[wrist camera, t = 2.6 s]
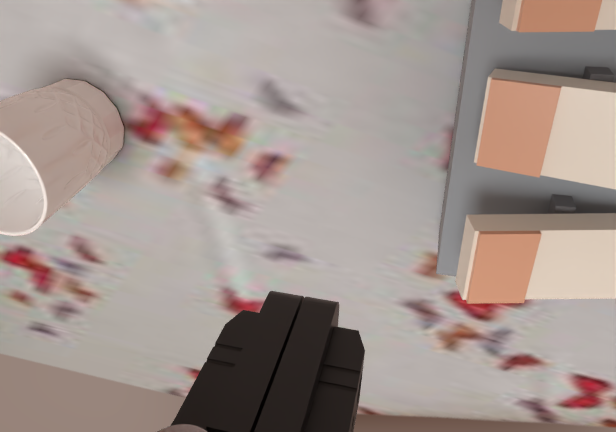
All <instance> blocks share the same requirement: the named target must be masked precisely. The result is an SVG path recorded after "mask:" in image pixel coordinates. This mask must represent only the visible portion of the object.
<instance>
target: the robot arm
mask: <svg viewBox="0 0 616 432" xmlns="http://www.w3.org/2000/svg"><path fill="white" fill-rule="evenodd" d="M338 316H339V302H334V301H328V300H322V299H317V298H311V297H305V298H304V297H303V296H298V295H293V294H287V293H281V292H275V291H270V292H269V294H268V296H267V298H266V300H265V302H264V304H263V306H262V308H261V311H260V313H257V312H251V311H246V310H243V311H241V312H240V313H239V314H238V315H236V316H235V317H234V318H233V319H231V320H230V321H229V322H228V323H227V324H225V326H224V328H223V330H222V332H221V334H220V335H219V337H218V339H217V341H216V343H215V347H213V349H212V350H211V352H210V354H209V356H208V358H207V362H205V363H204V365H203V367H202V369H201V371H200V373H199V375H198V377H197V378H196V380H195V382H194V384H193V386H192V388H191V390H190V391H189V393H188V395H187V397H186V399H185V401H184V403H183V405H182V406H181V408H180V410H179V412H178V414H177V416H176V418H175V419H174V421H173V423H172V424H171V426H169V427H166V428H164V429H161V430H160V431H157V432H353V430H354V425H355V419H356V414H357V409H358V404H359V397H360V389H361V380H362V371H363V362H364V353H365V350H364V347H363V343H362V340H361V337H360V334H359V331H357V330H351V329H346V328H340V327H338Z"/></svg>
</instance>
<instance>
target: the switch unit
mask: <svg viewBox="0 0 616 432" xmlns="http://www.w3.org/2000/svg"><path fill="white" fill-rule="evenodd" d="M502 2H503V0H472V1H471V8H470V15H469V22H468V29H467V36H466V44H465V51H464V58H463V65H462V72H461V79H460V86H459V94H458V101H457V108H456V115H455V122H454V129H453V136H452V144H451V151H450V158H449V165H448V172H447V179H446V186H445V194H444V201H443V208H442V215H441V222H440V229H439V241H438V257H437V272H436V274H442V275H450V276H456V275H457V269H458V263H459V257H460V251H461V245H462V239H463V233H464V227H465V221H466V215H478V214H581V213H616V190H615V189H610V188H605V187H600V186H595V185H589V184H584V183H579V182H574V181H568V180H563V179H558V178H553V177H547V176H542V175H540V178H539V177H534V176H528V175H523V174H518V173H513V172H508V171H502V170H497V169H492V168H487V167H482V166H476V165H477V163H474V158H475V152H476V146H477V140H478V134H479V128H480V122H481V116H482V110H483V104H484V98H485V92H486V86H487V80H488V76H489V75H490V74H491V73H492V71H493V70H494V69H504V70H512V71H521V72H529V73H538V74H546V75H555V76H563V77H572V78H580V79H589V80H597V81H605V82H614V83H616V30H595V31H594V32H517V31H511V30H509V29H508V28H506V27H505V26H503V25H502V24H500V23H499V19H500V13H501V8H502Z"/></svg>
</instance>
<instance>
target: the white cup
mask: <svg viewBox="0 0 616 432" xmlns="http://www.w3.org/2000/svg"><path fill="white" fill-rule="evenodd" d="M123 139H124V126H123V123H122V121H121V118H120V115H119V112H118V110H117V108H116V107H115V106H114V104H113V103H112V102H111V101H110V100H109V98H108V97H107V96H106V95H105V94H104V92H102V91H101V90H99V89H97V88H96V87H94V86H92V85H91V84H89V83H87V82H85V81H80V80H72V79H64V80H61V81H59V82H56V83H54V84H51V85H49V86H46V87H43V88H40V89H32V90H30V91H27V92H24V93H21V94H18V95H14V96H12V97H9V98H6V99H4V100H1V101H0V234H4V235H11V236H20V235H25V234H29V233H31V232H33V231H35V230H36V229H37V228H39V227H40V226H41V225H42V224H43V223H44V222H45V221H46V220H47V219H49V218H50V217H51V216H52V215H53V214H54V213H55V212H57V211H58V210H59V209H60V208H61V207H62V206H63V205H65V204H66V203H67V202H68V201H69V200H70V199H71V198H73V197H74V196H75V195H76V194H77V193H78V192H79V191H81V190H82V189H83V188H84V187H85V186H86V185H87V184H88V183H89V182H90V181H91V180H92V179H93V178H94V177H95V176H96V175H97V174H98V173H99V172H100V171H101V170H102V168H104V167H105V166H106V165H107V164H108V163H110V162H111V161H112V160H113V159H114V158H115V156H116V155H117V154H118V152H119V151H120V149H121V148H122V147H123Z"/></svg>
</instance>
